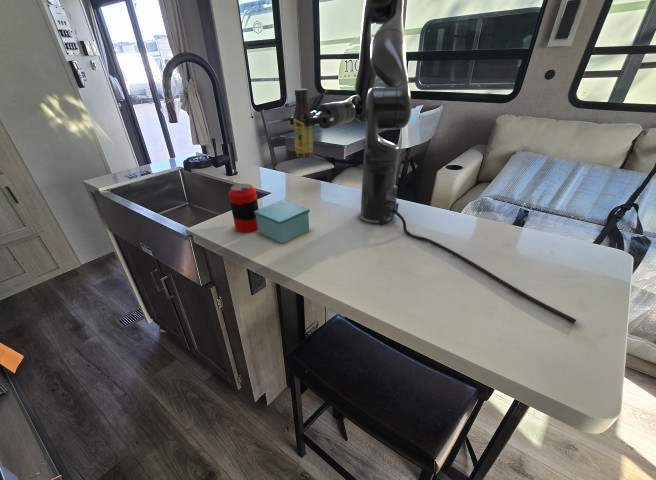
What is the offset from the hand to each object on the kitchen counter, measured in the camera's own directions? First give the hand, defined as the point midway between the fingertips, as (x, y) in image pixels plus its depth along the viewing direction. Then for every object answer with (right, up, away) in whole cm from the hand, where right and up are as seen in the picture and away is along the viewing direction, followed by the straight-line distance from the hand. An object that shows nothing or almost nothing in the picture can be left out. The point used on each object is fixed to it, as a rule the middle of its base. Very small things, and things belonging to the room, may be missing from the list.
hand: (297, 122), depth 101 cm
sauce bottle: (+2, -8, +8) cm, 11 cm away
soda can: (-14, -36, -8) cm, 40 cm away
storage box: (-4, -38, -12) cm, 40 cm away
